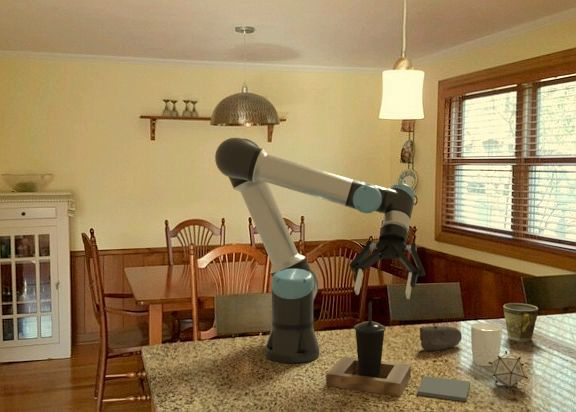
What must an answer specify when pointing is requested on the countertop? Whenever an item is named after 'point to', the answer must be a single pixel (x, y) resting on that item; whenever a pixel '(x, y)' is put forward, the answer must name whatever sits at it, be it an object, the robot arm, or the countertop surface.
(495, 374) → the game die
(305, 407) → the countertop surface
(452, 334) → the perforated stone tool
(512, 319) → the ceramic cup
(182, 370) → the countertop surface
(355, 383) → the holder frame
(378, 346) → the drinking cup
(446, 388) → the slate mat
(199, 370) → the countertop surface
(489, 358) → the white cup
